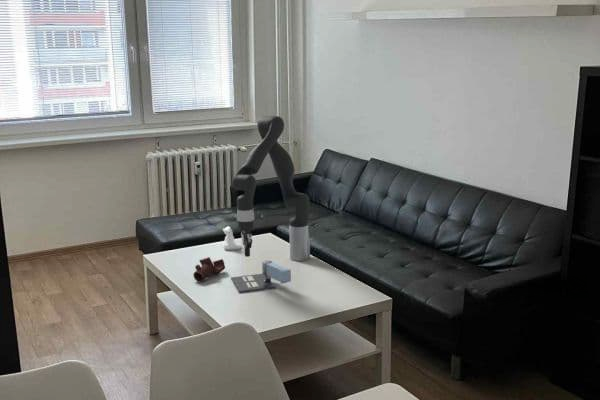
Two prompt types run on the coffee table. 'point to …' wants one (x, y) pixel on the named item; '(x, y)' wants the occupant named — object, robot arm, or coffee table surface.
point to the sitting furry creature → (230, 240)
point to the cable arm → (276, 271)
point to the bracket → (208, 269)
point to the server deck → (252, 283)
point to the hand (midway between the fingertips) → (247, 256)
